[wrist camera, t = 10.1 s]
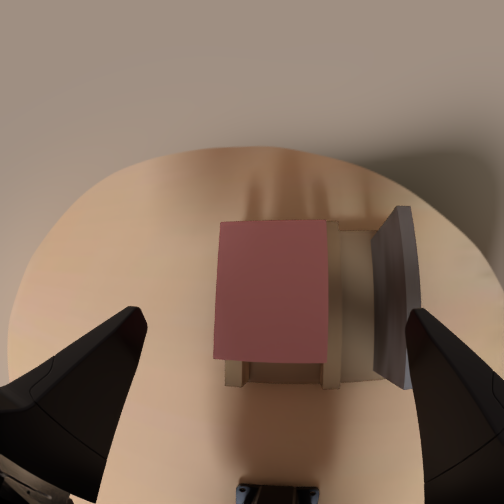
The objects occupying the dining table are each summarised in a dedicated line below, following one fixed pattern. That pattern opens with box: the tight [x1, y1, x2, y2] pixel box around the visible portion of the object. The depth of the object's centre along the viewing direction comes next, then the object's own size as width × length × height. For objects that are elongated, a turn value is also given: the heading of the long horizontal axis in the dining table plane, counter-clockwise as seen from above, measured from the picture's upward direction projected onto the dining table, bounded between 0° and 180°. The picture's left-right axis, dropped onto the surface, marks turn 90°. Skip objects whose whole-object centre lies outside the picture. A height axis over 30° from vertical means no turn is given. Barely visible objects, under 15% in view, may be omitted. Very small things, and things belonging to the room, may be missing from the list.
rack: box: [225, 206, 421, 390], centre depth 15 cm, size 10×12×7 cm
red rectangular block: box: [213, 220, 328, 363], centre depth 13 cm, size 4×4×10 cm
